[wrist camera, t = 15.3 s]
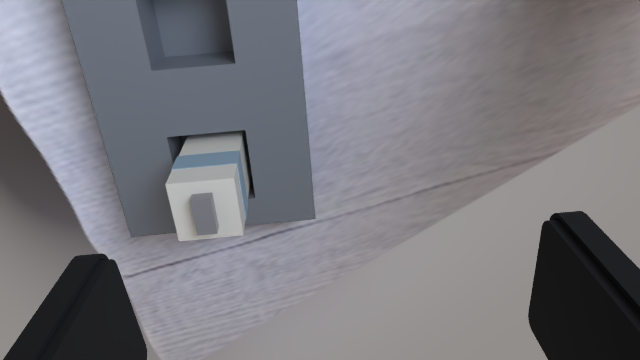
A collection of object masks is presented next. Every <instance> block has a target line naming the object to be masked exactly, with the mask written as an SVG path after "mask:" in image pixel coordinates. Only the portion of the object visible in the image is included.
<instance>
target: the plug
mask: <svg viewBox="0 0 640 360" xmlns="http://www.w3.org/2000/svg"><path fill="white" fill-rule="evenodd" d="M250 178H251V165H250V158H249V151H248V144H247V138H246V131H245V130H240V131H229V132H218V133H207V134H196V135H188V137H187V139H186V141H185V143H184V145H183V147H182V150H181V152H180V154H179V156H177V158H176V160H175V162H174V164H173V166H172V168H171V173H170V175H169V178H168V180H167V182H166V184H165V185H166V190H167V194H168V198H169V202H170V206H171V210H172V214H173V219H174V223H175V227H176V231H177V235H178V239H179V241H189V240H200V239H210V238H220V237H230V236H241V235H244V227H245V219H246V218H247V210H248V194H249V186H250Z"/></svg>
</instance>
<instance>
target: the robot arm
mask: <svg viewBox="0 0 640 360" xmlns="http://www.w3.org/2000/svg"><path fill="white" fill-rule="evenodd" d="M528 315H529V316H528V317H529V323H530V327H531V329H532V332H533V333H534V335H535V337H536V339H537V340H538V342H539V344H540V346H541V348H542V349H543V351H544V353H545V355H546V357H547V358H548V360H640V269H639V268H638V267H637V266H636V265H635V264H634V263H633V262H632V261H631V260H630V259H629V258H628V257H627V256H626V255H625V254H624V253H623V252H622V251H621V250H620V248H619V247H618V246H616V244H615V243H614V242H613V241H612V240H611V239H610V238H609V237H608V236H607V235H606V234H605V233H604V232H603V231H602V230H601V229H600V228H599V227H598V226H597V225H596V224H595V223H594V222H593V221H592V220H591V219H590V217H589V216H588V215H587V214H585V213H584V212H582V211H576V212H565V213H554V214H553V215H552V216H551V217H550V221H545V222H544V223H543V225H542V230H541V236H540V243H539V249H538V256H537V262H536V269H535V275H534V281H533V288H532V294H531V300H530V306H529V314H528ZM3 360H147V348H146V344H145V342H144V339H143V336H142V333H141V330H140V327H139V325H138V322H137V319H136V316H135V314H134V311H133V308H132V305H131V302H130V300H129V297H128V294H127V291H126V288H125V286H124V283H123V280H122V277H121V274H120V272H119V269H118V266H117V264H116V262H115V261H114V260H112V259H110V260H109V259H108V257H107V256H106V255H105V254H92V255H80V256H76V257H74V258H73V259H72V260H71V262H70V263H69V265H68V266H67V268H66V269H65V271H64V272H63V273H62V275H61V276H60V278H59V280H58V281H57V282H56V284H55V285H54V287H53V288H52V290H51V291H50V292H49V294H48V295H47V297H46V298H45V300H44V301H43V303H42V304H41V305H40V307H39V308H38V310H37V311H36V313H35V314H34V316H33V317H32V319H31V320H30V321H29V323H28V324H27V326H26V327H25V329H24V330H23V332H22V333H21V334H20V336H19V337H18V339H17V340H16V342H15V343H14V345H13V346H12V347H11V349H10V350H9V352H8V353H7V355H6V356H5V358H4V359H3Z"/></svg>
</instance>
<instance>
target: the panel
mask: <svg viewBox="0 0 640 360" xmlns="http://www.w3.org/2000/svg"><path fill="white" fill-rule="evenodd" d="M62 3H63V7H64V10H65V14H66V17H67V20H68V24H69V27H70V31H71V34H72V37H73V41H74V44H75V48H76V51H77V54H78V58H79V61H80V65H81V68H82V71H83V75H84V78H85V82H86V85H87V88H88V92H89V95H90V99H91V102H92V105H93V109H94V112H95V116H96V119H97V122H98V126H99V129H100V133H101V136H102V139H103V143H104V146H105V150H106V153H107V157H108V160H109V163H110V167H111V170H112V174H113V177H114V180H115V184H116V187H117V191H118V194H119V197H120V201H121V204H122V208H123V211H124V214H125V218H126V221H127V225H128V228H129V231H130V235H131V237H135V236H145V235H156V234H166V233H176V232H177V231H176V227H175V223H174V219H173V214H172V210H171V206H170V202H169V198H168V194H167V190H166V185H165V184H166V182H167V180H168V178H169V175H170V173H171V168H172V166H173V164H174V162H175V160H176V158H177V156H179V154H180V152H181V150H182V147H183V145H184V143H185V141H186V139H187V137H188V135H196V134H207V133H218V132H229V131H240V130H245V131H246V138H247V144H248V151H249V158H250V165H251V178H250V186H249V194H248V210H247V218H246V219H245V226H248V225H259V224H269V223H279V222H290V221H300V220H310V219H315V209H314V197H313V185H312V173H311V161H310V150H309V138H308V126H307V114H306V102H305V91H304V79H303V67H302V55H301V43H300V32H299V20H298V8H297V0H62Z"/></svg>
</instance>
